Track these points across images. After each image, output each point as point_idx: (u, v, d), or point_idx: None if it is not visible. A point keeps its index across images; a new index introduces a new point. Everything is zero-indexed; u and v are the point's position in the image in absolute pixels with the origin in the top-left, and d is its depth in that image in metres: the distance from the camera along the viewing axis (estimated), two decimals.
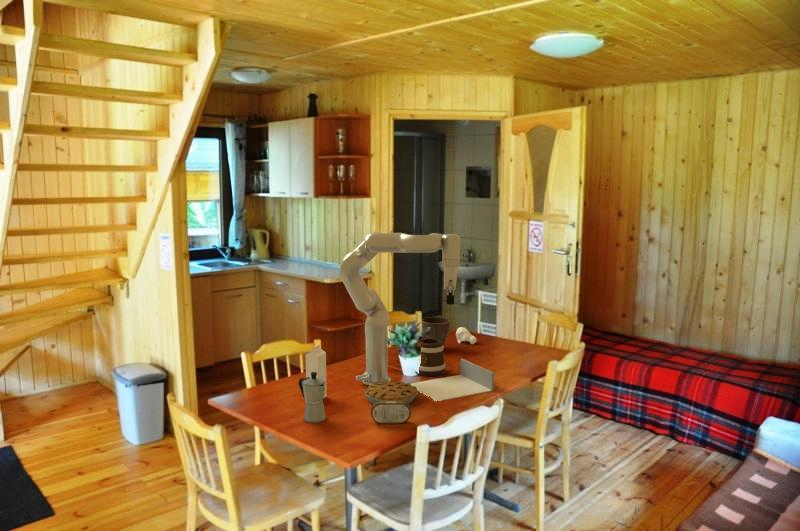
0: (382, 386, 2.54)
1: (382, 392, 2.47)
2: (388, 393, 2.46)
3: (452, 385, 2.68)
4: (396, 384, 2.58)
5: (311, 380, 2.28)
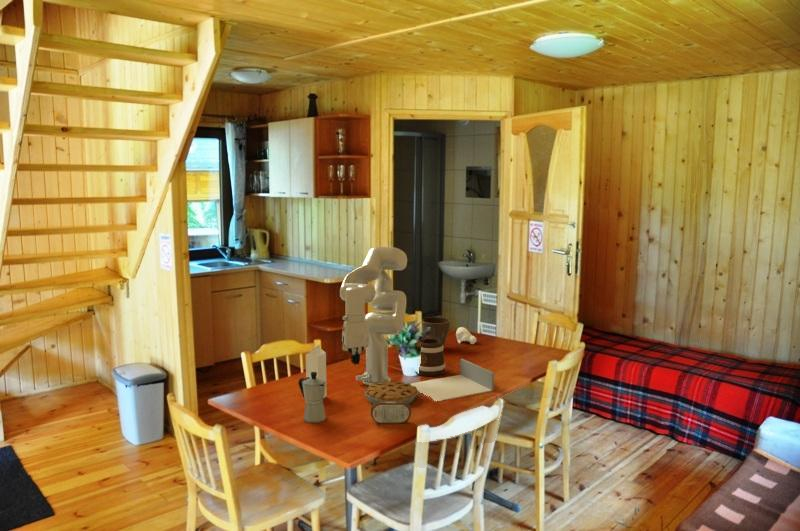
0: (382, 386, 2.54)
1: (382, 392, 2.47)
2: (388, 393, 2.46)
3: (452, 385, 2.68)
4: (396, 384, 2.58)
5: (311, 380, 2.28)
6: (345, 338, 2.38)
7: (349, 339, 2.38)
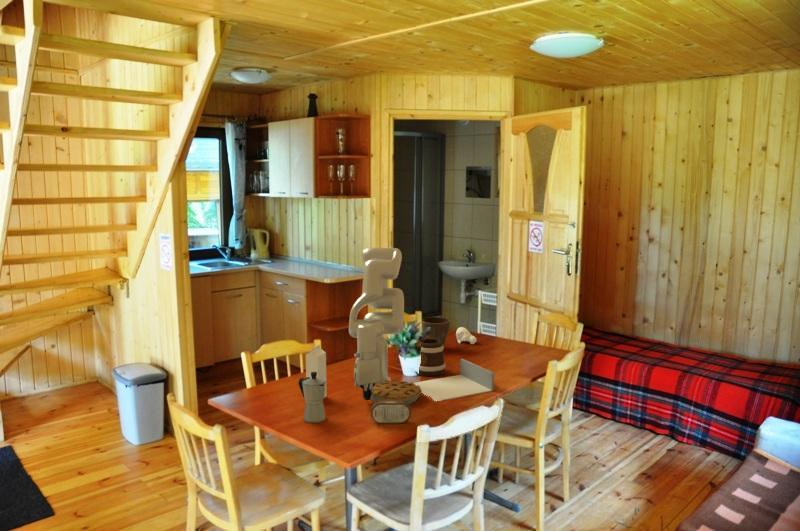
0: (386, 385, 2.55)
1: (386, 391, 2.48)
2: (392, 392, 2.47)
3: (452, 385, 2.68)
4: (400, 383, 2.58)
5: (311, 380, 2.28)
6: (357, 375, 2.42)
7: (361, 376, 2.42)
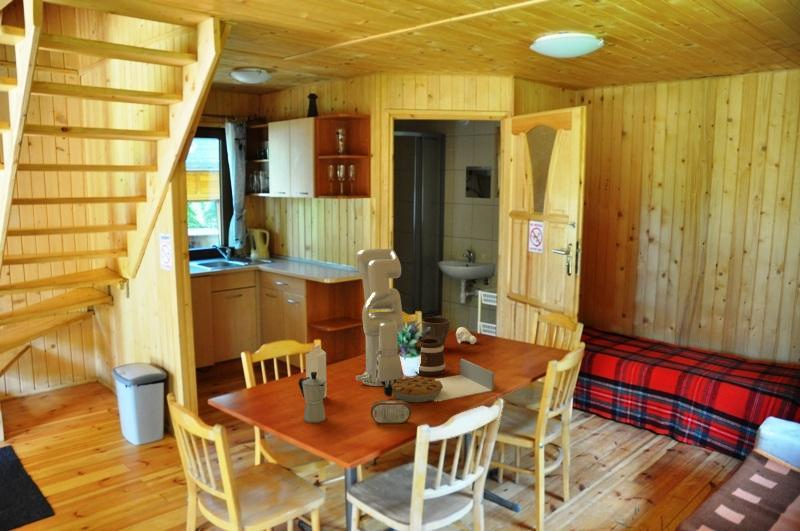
0: (407, 382, 2.58)
1: (408, 388, 2.51)
2: (414, 388, 2.50)
3: (452, 385, 2.68)
4: (420, 379, 2.62)
5: (311, 380, 2.28)
6: (379, 371, 2.47)
7: (382, 373, 2.46)
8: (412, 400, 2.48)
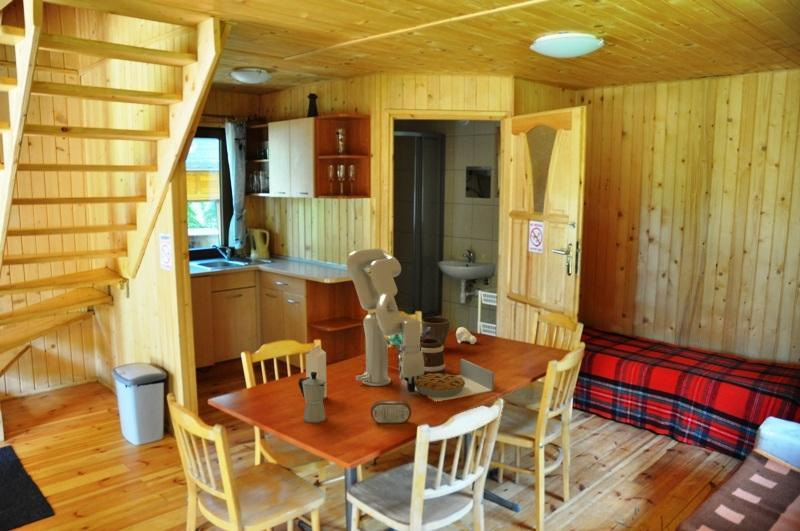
0: (430, 377, 2.63)
1: (432, 383, 2.56)
2: (438, 384, 2.55)
3: None
4: (442, 375, 2.67)
5: (311, 380, 2.28)
6: (402, 368, 2.52)
7: (406, 369, 2.52)
8: (436, 395, 2.53)
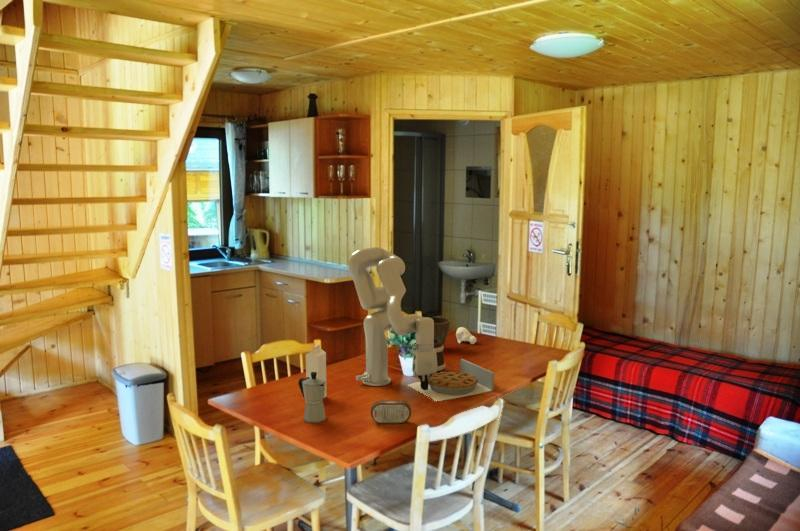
0: (443, 375, 2.66)
1: (445, 381, 2.59)
2: (451, 382, 2.58)
3: None
4: (456, 374, 2.70)
5: (311, 380, 2.28)
6: (416, 366, 2.55)
7: (420, 367, 2.55)
8: (449, 393, 2.56)
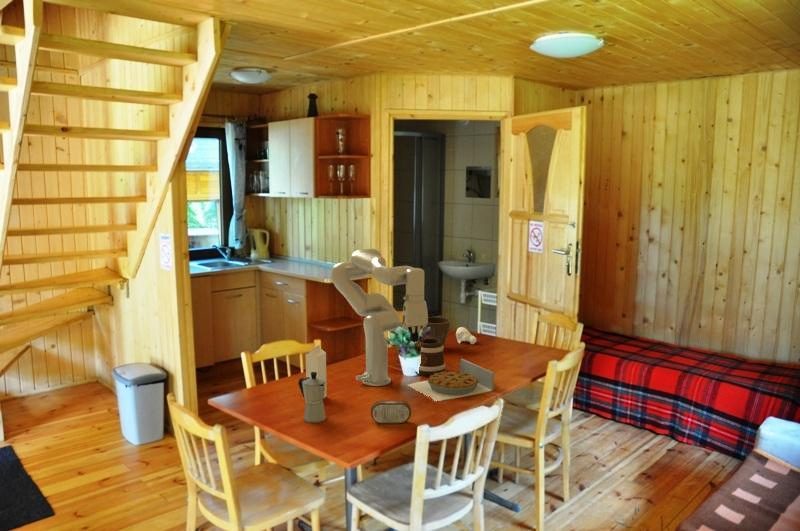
0: (444, 375, 2.66)
1: (446, 381, 2.59)
2: (452, 382, 2.58)
3: None
4: (456, 374, 2.70)
5: (311, 380, 2.28)
6: (406, 317, 2.50)
7: (410, 318, 2.50)
8: (450, 393, 2.56)
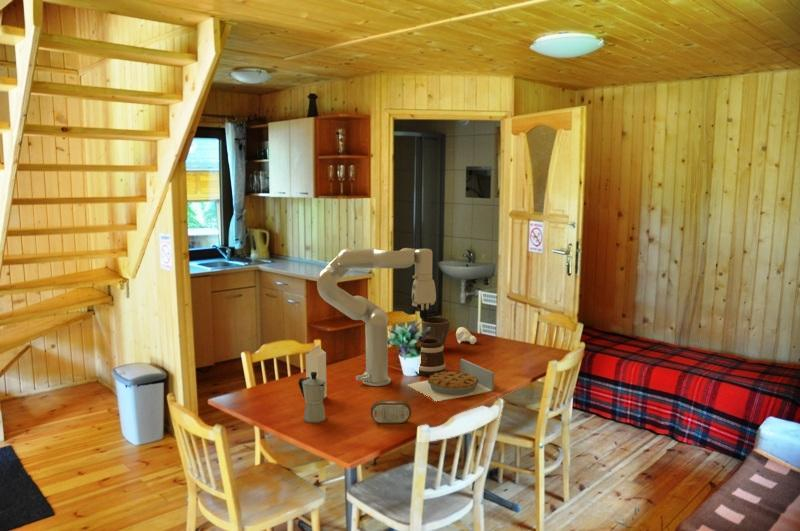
0: (444, 375, 2.66)
1: (446, 381, 2.59)
2: (452, 382, 2.58)
3: None
4: (456, 374, 2.70)
5: (311, 380, 2.28)
6: (415, 295, 2.65)
7: (419, 296, 2.64)
8: (450, 393, 2.56)
